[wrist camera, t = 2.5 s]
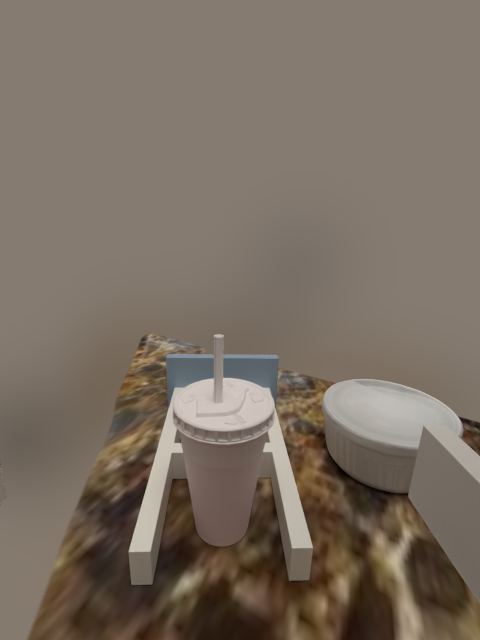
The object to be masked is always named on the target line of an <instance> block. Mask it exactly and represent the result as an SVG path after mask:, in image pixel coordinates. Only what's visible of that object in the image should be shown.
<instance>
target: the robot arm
mask: <svg viewBox="0 0 480 640" xmlns="http://www.w3.org/2000/svg"><path fill="white" fill-rule="evenodd" d="M408 498H409V499H410V501H411V502H412V504H413V505H414V507H415V508H416V510H417V511H418V513H419V514H420V516H421V517H422V519H423V520H424V522H425V523H426V525H427V526H428V528H429V529H430V531H431V532H432V534H433V535H434V537H435V538H436V540H437V541H438V543H439V544H440V546H441V547H442V549H443V550H444V552H445V553H446V555H447V556H448V558H449V559H450V561H451V562H452V564H453V565H454V567H455V568H456V570H457V571H458V573H459V574H460V576H461V577H462V578H463V580H464V581H465V583H466V584H467V586H468V587H469V589H470V590H471V592H472V593H473V595H474V596H475V598H476V599H477V601H478V602H479V604H480V456H479V455H478V454H477V453H476V452H475V451H473V450H472V449H471V448H470V447H469V446H468V445H467V444H466V443H465V442H464V441H463V440H461V439H460V438H459V437H458V436H457V435H456V434H455V433H454V432H453V431H452V430H451V429H450V428H448V427H447V426H423V429H422V434H421V439H420V443H419V448H418V452H417V457H416V462H415V466H414V471H413V475H412V480H411V485H410V489H409V494H408ZM5 499H6V492H5V486H4V480H3V475H2V469H1V464H0V505H1V504H2V503H3V501H4V500H5Z"/></svg>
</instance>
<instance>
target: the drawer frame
mask: <svg viewBox="0 0 480 640" xmlns="http://www.w3.org/2000/svg"><path fill="white" fill-rule="evenodd" d="M278 362H279V358H278V356H277V355H223V378H235V379H241V380H246V381H249V382H252V383H255V384H257V385H259V386H261V387H262V388H264V389H266V390H267V391H268V392H269V393H270V394H271V396H272V397H273V399H274V403H275V406H274V414H275V420H274V423H273V426H272V427H271V428H270V429H269V430H268V431H267V435H266V440H265V446H264V450H263V455H262V460H261V465H260V470H259V474H258V478H271V483H272V489H273V494H274V500H275V505H276V511H277V516H278V522H279V527H280V533H281V538H282V544H283V549H284V555H285V561H286V566H287V572H288V577H289V581H299V580H309V578H310V569H311V560H312V552H313V546H312V543H311V539H310V535H309V532H308V528H307V524H306V520H305V517H304V513H303V509H302V506H301V502H300V498H299V495H298V491H297V487H296V483H295V480H294V476H293V472H292V469H291V465H290V461H289V458H288V454H287V450H286V446H285V443H284V439H283V435H282V432H281V428H280V424H279V421H278V417H277V413H276V410H275V408H276V393H277V378H278ZM166 366H167V393H168V408H169V410H168V413H167V417H166V420H165V424H164V428H163V431H162V435H161V438H160V442H159V445H158V449H157V453H156V456H155V460H154V463H153V467H152V470H151V474H150V477H149V481H148V485H147V488H146V492H145V495H144V499H143V502H142V506H141V510H140V513H139V517H138V520H137V524H136V527H135V531H134V535H133V538H132V542H131V545H130V549H129V563H130V574H131V585H151V584H153V579H154V574H155V568H156V563H157V558H158V553H159V547H160V542H161V537H162V532H163V527H164V521H165V516H166V511H167V506H168V500H169V495H170V490H171V485H172V479H187V473H186V467H185V461H184V455H183V449H182V445H181V443H180V431H179V430H178V429H177V428H176V426H175V425H174V423H173V418H172V413H173V400H174V398H175V396H176V395H177V393H178V392H179V391H181V390H182V389H183V388H185V387H186V386H188V385H190V384H192V383H195V382H198V381H201V380H206V379H212V378H214V355H208V354H207V355H206V354H168V355H167V357H166Z"/></svg>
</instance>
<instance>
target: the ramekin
mask: <svg viewBox="0 0 480 640" xmlns="http://www.w3.org/2000/svg"><path fill="white" fill-rule="evenodd" d="M322 411H323V414H324V418H325V435H326V445H327V448H328V451H329V453H330V455H331V456H332V458H333V459H334V461H335V462H336V463H337V464H338V465H339V467H340V468H341V469H342V470H343V471H345V472H346V473H347V474H348V475H350V476H351V477H352V478H354V479H356V480H357V481H359V482H361V483H363V484H365V485H368V486H370V487H373V488H375V489H379V490H383V491H387V492H393V493H409V489H410V485H411V480H412V475H413V471H414V466H415V462H416V457H417V452H418V448H419V443H420V439H421V434H422V429H423V426H447V427H448V428H450V429H451V430H452V431H453V432H454V433H455V434H456V435H457V436H458V437H459V438H460V439H461V438H462V435H463V425H462V423H461V421H460V419H459V418H458V416H457V415H456V414H455V413H454V412H453V411H452V410H451V409H450V408H449V407H448V406H446V405H445V404H443V403H442V402H440V401H439V400H437V399H435V398H433V397H432V396H430V395H428V394H425V393H423V392H421V391H418V390H416V389H413V388H410V387H407V386H404V385H400V384H396V383H392V382H387V381H381V380H372V379H355V380H347V381H342V382H339V383H336V384H334V385H332V386H331V387H330V388H329V389H327V391H326V392H325V394H324V396H323V401H322Z"/></svg>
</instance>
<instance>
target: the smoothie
mask: <svg viewBox="0 0 480 640" xmlns="http://www.w3.org/2000/svg"><path fill="white" fill-rule="evenodd" d="M223 349H224V336H223V335H220V334H217V335H214V378H212V379H206V380H201V381H198V382H195V383H192V384H190V385H188V386H186V387H185V388H183V389H182V390H181V391H179V392H178V393H177V395H176V396H175V398H174V400H173V413H172V418H173V423H174V425H175V426H176V428H177V429H178V430H179V431H180V438H181V445H182V449H183V455H184V461H185V467H186V473H187V479H188V485H189V491H190V497H191V502H192V508H193V514H194V520H195V526H196V531H197V533H198V535H199V536H200V538H201V539H202V540H203V541H205V542H206V543H208V544H210V545H213V546H220V547H222V546H229V545H232V544H235V543H236V542H238V541H239V540H241V539H242V538H243V536H244V535H245V534H246V532H247V529H248V524H249V519H250V514H251V509H252V504H253V499H254V494H255V489H256V484H257V479H258V474H259V470H260V465H261V460H262V455H263V450H264V446H265V440H266V435H267V431H268V430H269V429H270V428H271V427H272V426H273V423H274V420H275V414H274V406H275V403H274V399H273V397H272V396H271V394H270V393H269V392H268V391H267V390H266V389H264V388H262V387H261V386H259V385H257V384H255V383H252V382H249V381H246V380H241V379H235V378H223Z"/></svg>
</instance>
